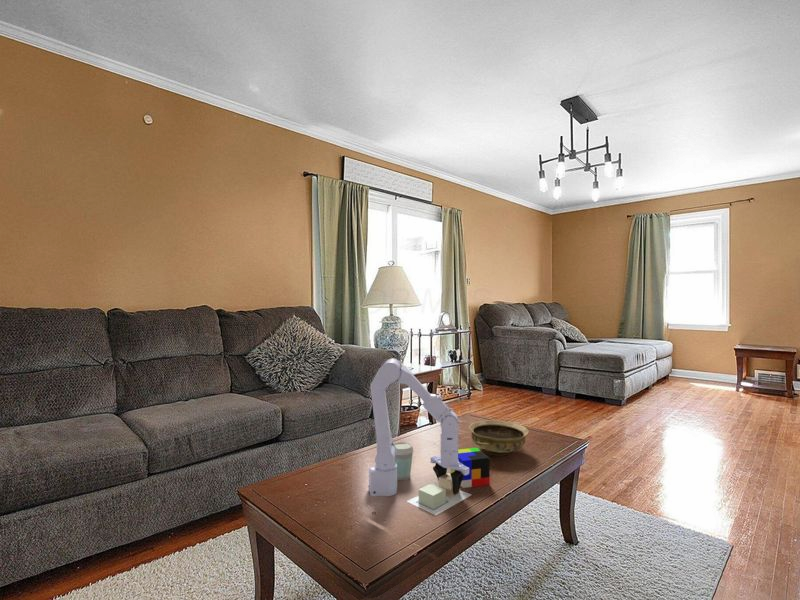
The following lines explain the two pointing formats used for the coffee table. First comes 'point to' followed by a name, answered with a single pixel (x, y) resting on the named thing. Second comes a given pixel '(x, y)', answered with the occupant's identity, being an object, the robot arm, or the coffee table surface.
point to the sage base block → (432, 495)
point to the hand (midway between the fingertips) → (449, 490)
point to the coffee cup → (403, 459)
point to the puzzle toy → (474, 467)
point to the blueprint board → (442, 507)
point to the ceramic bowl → (498, 436)
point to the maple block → (447, 484)
